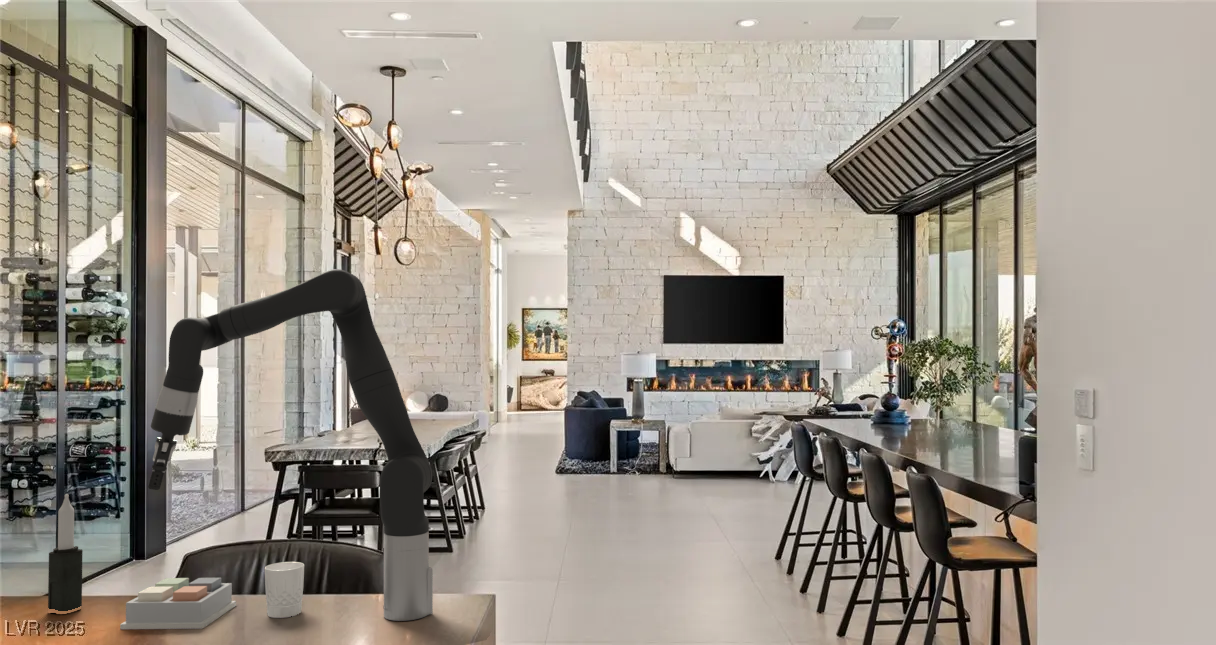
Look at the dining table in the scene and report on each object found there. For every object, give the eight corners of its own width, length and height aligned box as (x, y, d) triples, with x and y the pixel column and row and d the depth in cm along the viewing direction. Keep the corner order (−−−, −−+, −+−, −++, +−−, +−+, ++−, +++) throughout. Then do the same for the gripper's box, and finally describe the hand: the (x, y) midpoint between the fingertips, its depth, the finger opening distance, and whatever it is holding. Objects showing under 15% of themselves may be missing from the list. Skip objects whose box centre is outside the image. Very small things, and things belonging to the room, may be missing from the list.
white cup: (310, 608, 192) (310, 561, 192) (293, 619, 184) (294, 570, 184) (275, 608, 192) (275, 561, 193) (257, 618, 185) (257, 570, 185)
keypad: (236, 605, 195) (236, 582, 195) (202, 628, 178) (202, 603, 178) (160, 606, 194) (161, 583, 195) (120, 629, 178) (120, 604, 178)
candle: (84, 608, 193) (85, 492, 194) (63, 615, 188) (64, 496, 189) (66, 606, 194) (68, 491, 195) (45, 613, 190) (46, 495, 190)
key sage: (188, 593, 192) (188, 577, 192) (178, 599, 188) (178, 583, 188) (166, 593, 192) (166, 578, 192) (155, 599, 188) (155, 583, 188)
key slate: (221, 593, 192) (221, 577, 193) (211, 599, 188) (211, 583, 188) (198, 593, 192) (199, 577, 192) (188, 599, 188) (188, 583, 188)
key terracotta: (207, 602, 185) (207, 586, 186) (196, 608, 181) (196, 592, 181) (183, 602, 185) (184, 586, 185) (172, 608, 181) (172, 592, 181)
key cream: (173, 602, 185) (173, 586, 185) (161, 609, 181) (161, 592, 181) (149, 602, 185) (150, 586, 185) (137, 609, 180) (138, 592, 181)
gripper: (193, 418, 183) (172, 495, 183) (195, 407, 196) (175, 479, 196) (153, 411, 180) (132, 489, 180) (158, 401, 193) (138, 473, 193)
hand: (155, 484), depth 188 cm, fingers open, 8 cm apart
